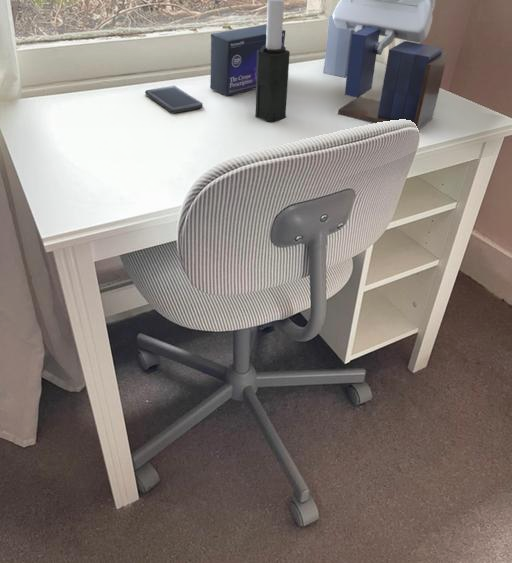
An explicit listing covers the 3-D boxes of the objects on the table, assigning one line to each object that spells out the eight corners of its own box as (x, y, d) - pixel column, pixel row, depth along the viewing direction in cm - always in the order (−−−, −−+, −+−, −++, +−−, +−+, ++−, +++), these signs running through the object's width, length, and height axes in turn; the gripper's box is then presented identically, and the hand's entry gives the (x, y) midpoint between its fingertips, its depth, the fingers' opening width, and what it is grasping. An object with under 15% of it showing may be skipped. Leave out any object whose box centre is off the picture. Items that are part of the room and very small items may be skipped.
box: (228, 97, 118) (228, 39, 111) (209, 89, 122) (208, 33, 114) (283, 82, 127) (286, 28, 120) (263, 75, 131) (265, 22, 124)
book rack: (432, 118, 112) (449, 47, 103) (415, 133, 105) (432, 58, 96) (358, 100, 119) (368, 33, 110) (337, 113, 112) (346, 42, 103)
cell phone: (174, 88, 121) (173, 85, 121) (204, 107, 112) (204, 104, 112) (144, 93, 118) (143, 90, 117) (172, 113, 109) (172, 110, 108)
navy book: (371, 88, 115) (380, 28, 107) (357, 98, 110) (365, 35, 103) (358, 86, 116) (366, 26, 109) (344, 95, 111) (351, 33, 104)
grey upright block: (358, 69, 137) (366, 14, 129) (344, 77, 132) (352, 20, 124) (337, 65, 140) (344, 10, 132) (323, 72, 134) (329, 16, 126)
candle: (252, 116, 110) (256, -23, 94) (269, 110, 113) (275, -26, 97) (271, 123, 107) (277, -19, 92) (287, 116, 110) (297, -22, 94)
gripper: (344, -27, 111) (317, 32, 111) (441, -14, 103) (412, 50, 102) (351, -6, 117) (325, 50, 116) (442, 7, 108) (415, 69, 108)
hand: (366, 50), depth 109 cm, fingers closed on navy book, 3 cm apart
